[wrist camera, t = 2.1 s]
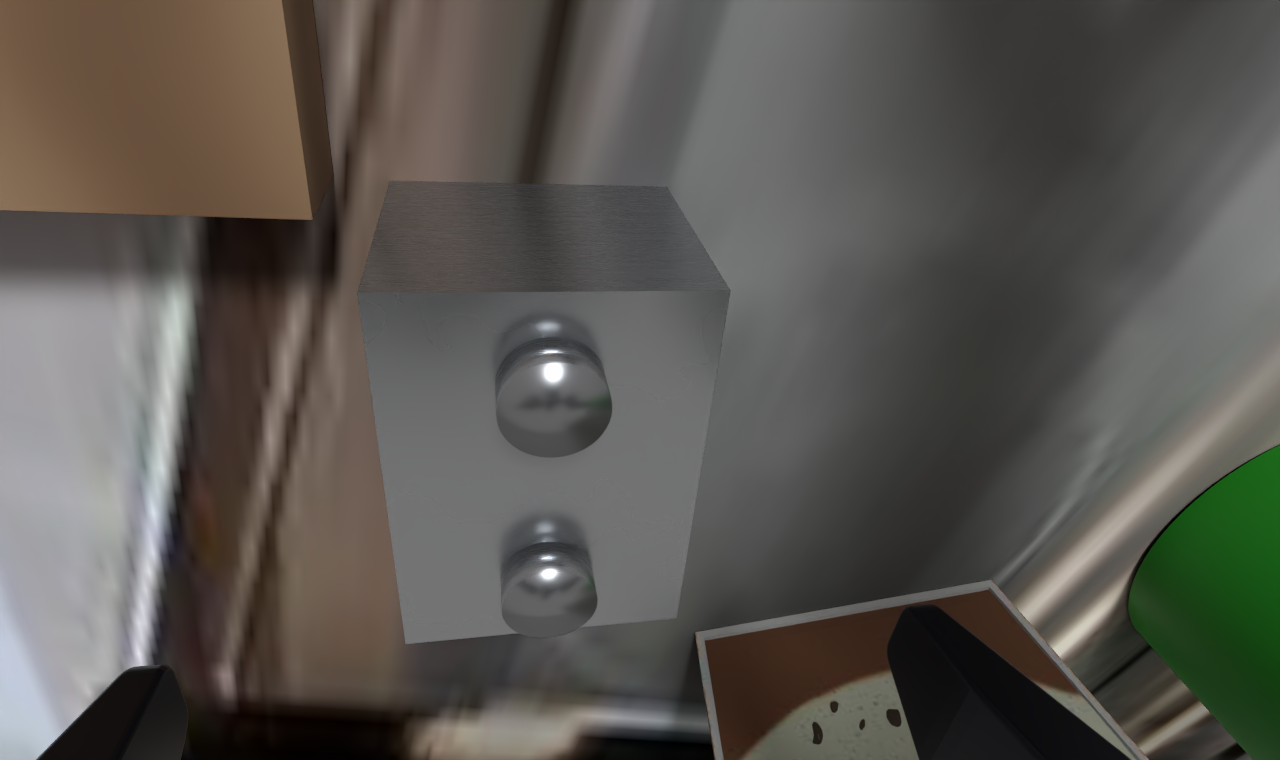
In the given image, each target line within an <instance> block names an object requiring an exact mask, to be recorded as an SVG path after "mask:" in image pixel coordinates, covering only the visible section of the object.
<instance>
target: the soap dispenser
mask: <svg viewBox="0 0 1280 760" xmlns="http://www.w3.org/2000/svg"><path fill="white" fill-rule="evenodd" d="M1128 610H1129V616H1130V620H1131V622H1132V624H1133V626H1134V628H1135V629H1136V630H1137V632H1138V633H1139V634H1140V635H1141V636H1142V637H1143V638H1144V639H1145V640H1146V642H1147V643H1148V644H1149V645H1150V646H1151V647H1152V648H1153V649H1154V650H1155V652H1156V653H1157V654H1158V655H1159V656H1160V657H1161V658H1162V659H1163V660H1164V662H1165V663H1166V664H1167V665H1168V666H1169V667H1170V668H1171V669H1172V670H1173V672H1174V673H1175V674H1176V675H1177V676H1178V677H1179V678H1180V679H1181V680H1182V682H1183V683H1184V684H1185V685H1186V686H1187V687H1188V688H1189V689H1190V690H1191V692H1192V693H1193V694H1194V695H1195V696H1196V697H1197V698H1198V699H1199V700H1200V701H1201V703H1202V704H1203V705H1204V706H1205V707H1206V708H1207V709H1208V710H1209V711H1210V713H1211V714H1212V715H1213V716H1214V717H1215V718H1216V719H1217V720H1218V721H1219V723H1220V724H1221V725H1222V726H1223V727H1224V728H1225V729H1226V730H1227V731H1228V733H1229V734H1230V735H1231V736H1232V737H1233V738H1234V739H1235V740H1236V741H1237V743H1238V744H1239V745H1240V746H1241V747H1242V748H1243V749H1244V750H1245V751H1246V752H1247V754H1248V755H1249V756H1250V757H1251V758H1252V759H1253V760H1280V445H1279V446H1277V447H1275V448H1273V449H1271V450H1269V451H1267V452H1265V453H1263V454H1262V455H1260V456H1258V457H1256V458H1255V459H1253V460H1251V461H1249V462H1248V463H1246V464H1245V465H1243V466H1241V467H1240V468H1238V469H1237V470H1235V471H1234V472H1232V473H1231V474H1229V475H1228V476H1226V477H1225V478H1223V479H1222V480H1221V481H1219V482H1218V483H1217V484H1215V485H1214V486H1213V487H1211V488H1210V489H1209V490H1207V491H1206V492H1205V493H1204V494H1203V495H1201V496H1200V497H1199V498H1198V499H1197V500H1195V501H1194V502H1193V503H1192V504H1191V505H1190V506H1189V507H1188V508H1187V509H1186V510H1185V511H1183V512H1182V513H1181V514H1180V515H1179V516H1178V517H1177V518H1176V519H1175V520H1174V522H1173V523H1172V524H1171V525H1170V526H1169V527H1168V528H1167V529H1166V530H1165V531H1164V533H1163V534H1162V535H1161V536H1160V537H1159V539H1158V540H1157V541H1156V543H1155V544H1154V545H1153V547H1152V548H1151V549H1150V551H1149V552H1148V554H1147V555H1146V557H1145V558H1144V560H1143V562H1142V564H1141V565H1140V567H1139V569H1138V571H1137V573H1136V576H1135V578H1134V580H1133V583H1132V586H1131V590H1130V594H1129V601H1128Z"/></svg>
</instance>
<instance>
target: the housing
mask: <svg viewBox="0 0 1280 760" xmlns="http://www.w3.org/2000/svg"><path fill="white" fill-rule="evenodd" d="M357 294H358V302H359V309H360V316H361V323H362V331H363V338H364V345H365V352H366V360H367V367H368V374H369V381H370V389H371V396H372V403H373V410H374V418H375V425H376V432H377V439H378V447H379V454H380V461H381V468H382V476H383V483H384V490H385V497H386V505H387V512H388V519H389V527H390V534H391V541H392V548H393V556H394V563H395V570H396V577H397V585H398V592H399V599H400V606H401V614H402V621H403V628H404V635H405V643H406V644H410V643H421V642H431V641H442V640H453V639H463V638H474V637H484V636H495V635H505V634H516V633H520V634H522V635H525V636H529V637H535V638H550V637H557V636H561V635H564V634H567V633H570V632H572V631H574V630H576V629H578V628H580V627H590V626H600V625H611V624H622V623H632V622H643V621H653V620H664V619H674V618H677V612H678V606H679V600H680V594H681V588H682V582H683V576H684V570H685V564H686V557H687V551H688V545H689V539H690V533H691V527H692V521H693V515H694V509H695V503H696V497H697V491H698V485H699V479H700V472H701V466H702V460H703V454H704V448H705V442H706V436H707V430H708V424H709V418H710V412H711V406H712V400H713V393H714V387H715V381H716V375H717V369H718V363H719V357H720V351H721V345H722V339H723V333H724V327H725V321H726V315H727V308H728V302H729V296H730V289H729V287H728V286H727V284H726V283H725V281H724V279H723V278H722V276H721V274H720V273H719V271H718V270H717V268H716V266H715V265H714V263H713V261H712V260H711V258H710V257H709V255H708V253H707V252H706V250H705V248H704V247H703V245H702V243H701V242H700V240H699V239H698V237H697V235H696V234H695V232H694V230H693V229H692V227H691V226H690V224H689V222H688V221H687V219H686V217H685V216H684V214H683V213H682V211H681V209H680V208H679V206H678V204H677V203H676V201H675V200H674V198H673V196H672V195H671V193H670V191H669V190H668V188H667V187H653V186H607V185H561V184H515V183H469V182H423V181H390V182H389V185H388V189H387V192H386V195H385V199H384V202H383V206H382V209H381V213H380V216H379V220H378V223H377V227H376V230H375V234H374V237H373V241H372V244H371V247H370V251H369V254H368V258H367V261H366V265H365V268H364V272H363V275H362V279H361V282H360V286H359V289H358V293H357Z"/></svg>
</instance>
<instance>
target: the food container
mask: <svg viewBox="0 0 1280 760" xmlns="http://www.w3.org/2000/svg"><path fill="white" fill-rule="evenodd" d="M923 604H932V605H935V606H937V607H939V608H941V609H942V610H943V611H945V612H946V613H947V614H948V615H950V616H951V617H952V618H954V619H955V620H956V621H957V622H959V623H960V624H961V625H962V626H964V627H965V628H966V629H967V630H969V631H970V632H971V633H972V634H974V635H975V636H976V637H978V638H979V639H980V640H981V641H983V642H984V643H985V644H986V645H988V646H989V647H990V648H991V649H993V650H994V651H995V652H996V653H998V654H999V655H1000V656H1001V657H1003V658H1004V659H1005V660H1007V661H1008V662H1009V663H1010V664H1012V665H1013V666H1014V667H1015V668H1017V669H1018V670H1019V671H1020V672H1022V673H1023V674H1024V675H1025V676H1027V677H1028V678H1029V679H1030V680H1032V681H1033V682H1034V683H1036V684H1037V685H1038V686H1039V687H1041V688H1042V689H1043V690H1044V691H1046V692H1047V693H1048V694H1049V695H1051V696H1052V697H1053V698H1054V699H1056V700H1057V701H1058V702H1059V703H1061V704H1062V705H1063V706H1065V707H1066V708H1067V709H1068V710H1070V711H1071V712H1072V713H1073V714H1075V715H1076V716H1077V717H1078V718H1080V719H1081V720H1082V721H1083V722H1085V723H1086V724H1087V725H1088V726H1090V727H1091V728H1092V729H1094V730H1095V731H1096V732H1097V733H1099V734H1100V735H1101V736H1102V737H1104V738H1105V739H1106V740H1107V741H1109V742H1110V743H1111V744H1112V745H1114V746H1115V747H1116V748H1118V749H1119V750H1120V751H1121V752H1123V753H1124V754H1125V755H1126V756H1128V757H1129V758H1130V759H1131V760H1149V759H1148V758H1147V757H1146V756H1145V755H1144V753H1143V752H1142V751H1141V750H1140V749H1139V748H1138V747H1137V745H1136V744H1135V743H1134V742H1133V741H1132V740H1131V739H1130V737H1129V736H1128V735H1127V734H1126V733H1125V732H1124V731H1123V729H1122V728H1121V727H1120V726H1119V725H1118V724H1117V723H1116V721H1115V720H1114V719H1113V718H1112V717H1111V716H1110V714H1109V713H1108V712H1107V711H1106V710H1105V709H1104V708H1103V706H1102V705H1101V704H1100V703H1099V702H1098V701H1097V700H1096V698H1095V697H1094V696H1093V695H1092V694H1091V693H1090V692H1089V690H1088V689H1087V688H1086V687H1085V686H1084V685H1083V684H1082V682H1081V681H1080V680H1079V679H1078V678H1077V677H1076V676H1075V674H1074V673H1073V672H1072V671H1071V670H1070V669H1069V668H1068V666H1067V665H1066V664H1065V663H1064V662H1063V661H1062V660H1061V658H1060V657H1059V656H1058V655H1057V654H1056V653H1055V652H1054V650H1053V649H1052V648H1051V647H1050V646H1049V645H1048V644H1047V642H1046V641H1045V640H1044V639H1043V638H1042V637H1041V636H1040V634H1039V633H1038V632H1037V631H1036V630H1035V629H1034V628H1033V626H1032V625H1031V624H1030V623H1029V622H1028V621H1027V620H1026V618H1025V617H1024V616H1023V615H1022V614H1021V613H1020V612H1019V610H1018V609H1017V608H1016V607H1015V606H1014V605H1013V604H1012V602H1011V601H1010V600H1009V599H1008V598H1007V597H1006V596H1005V594H1004V593H1003V592H1002V591H1001V590H1000V589H999V587H998V586H997V585H996V584H995V583H994V582H993V581H992V580H987V581H982V582H976V583H970V584H965V585H959V586H954V587H948V588H942V589H937V590H931V591H925V592H920V593H914V594H908V595H903V596H897V597H891V598H886V599H880V600H875V601H869V602H863V603H858V604H852V605H846V606H841V607H835V608H829V609H824V610H818V611H813V612H807V613H801V614H796V615H790V616H784V617H779V618H773V619H767V620H762V621H756V622H751V623H745V624H739V625H734V626H728V627H722V628H717V629H711V630H705V631H700V632H695V636H696V644H697V651H698V658H699V665H700V671H701V677H702V684H703V690H704V696H705V702H706V709H707V715H708V721H709V728H710V734H711V740H712V747H713V753H714V759H715V760H919V758H918V755H917V752H916V749H915V746H914V742H913V739H912V736H911V733H910V730H909V726H908V723H907V720H906V717H905V714H904V711H903V707H902V704H901V701H900V698H899V695H898V691H897V688H896V685H895V682H894V679H893V676H892V672H891V669H890V666H889V663H888V658H887V644H888V641H889V639H890V636H891V634H892V632H893V629H894V627H895V625H896V623H897V620H898V618H899V616H900V614H901V612H902V610H903V609H904V608H905V607H907V606H910V605H923Z"/></svg>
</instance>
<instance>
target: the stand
mask: <svg viewBox="0 0 1280 760" xmlns="http://www.w3.org/2000/svg"><path fill="white" fill-rule="evenodd" d="M333 177H334V176H333V168H332V159H331V151H330V143H329V134H328V126H327V118H326V109H325V101H324V93H323V84H322V76H321V68H320V59H319V51H318V43H317V34H316V26H315V18H314V9H313V1H312V0H0V210H13V211H45V212H76V213H108V214H140V215H172V216H204V217H236V218H267V219H299V220H313V218H314V216H315V214H316V212H317V209H318V207H319V205H320V203H321V201H322V199H323V197H324V195H325V193H326V191H327V189H328V187H329V185H330V183H331V181H332V179H333Z"/></svg>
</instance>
